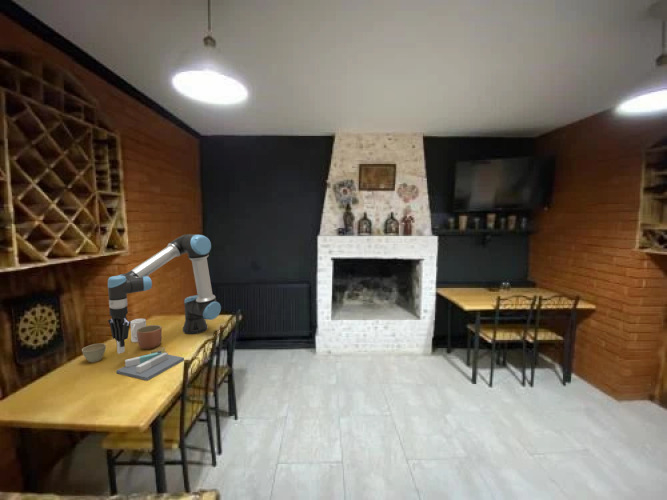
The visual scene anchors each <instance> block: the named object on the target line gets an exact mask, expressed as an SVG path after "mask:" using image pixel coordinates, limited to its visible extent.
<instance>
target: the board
mask: <svg viewBox="0 0 667 500" xmlns="http://www.w3.org/2000/svg"><path fill="white" fill-rule="evenodd" d="M157 353H161V351H157ZM184 361H185V357H182V356H178V355H172V354H169V352H166V353H162V354H160V355H158V356H156V357H154V358H152V359H150V360H148V361H146V362H144V363H142V364H138V365H134V366H130V367H126V366H123V367H121V368H118V369H116V370H115V371H116V374H117V375H121V376H125V377H130V378H134V379H139V380H143V381H146V382H148V381H150V380H151V379H153V378H155V377H157V376H158V375H161V374H163V373H164V372H165V371H168V370H169V369H171V368H172V367H173V368H174V367H175V366H177V365H178V364H180V363H182V362H184Z"/></svg>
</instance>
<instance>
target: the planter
mask: <svg viewBox="0 0 667 500" xmlns="http://www.w3.org/2000/svg"><path fill="white" fill-rule="evenodd" d="M162 334H163V332H162V326H161V325H160V324H159V325H158V324H149V325H146V326H144V327H141V328H139V329H138V330H137V339H138V342H137V345H138V346H139V348H141V349H143V350H151V349H152V350H153V349H156V348H158V346H159V345H160V344H161V342H162V341H163V340H162V337H163V336H162Z"/></svg>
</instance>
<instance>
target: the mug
mask: <svg viewBox="0 0 667 500" xmlns="http://www.w3.org/2000/svg"><path fill="white" fill-rule="evenodd" d="M130 322H131V323H130V325H129V326H130V335H131V336H130V337H131V341H130V342H131V343H138V339H137V330H138V329H139V328H141V327H144V326H147V321H146V318H135V319H133V320H130Z"/></svg>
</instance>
